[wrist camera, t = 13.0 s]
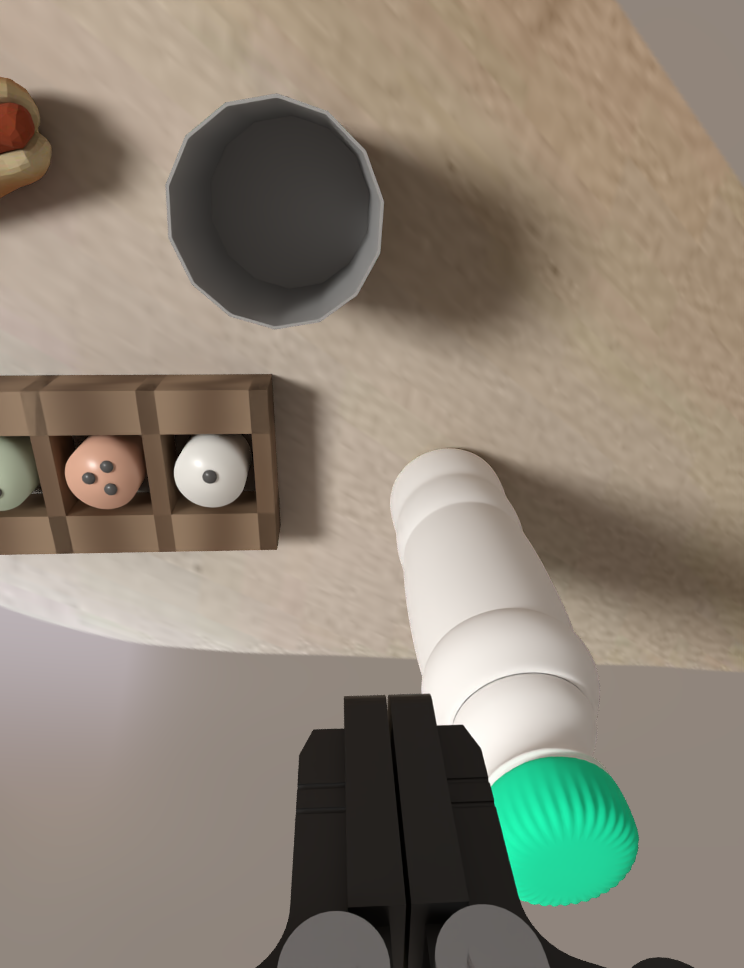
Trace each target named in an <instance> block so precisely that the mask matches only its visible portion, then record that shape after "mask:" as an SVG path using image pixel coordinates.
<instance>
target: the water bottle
mask: <svg viewBox="0 0 744 968" xmlns="http://www.w3.org/2000/svg"><path fill="white" fill-rule="evenodd" d="M390 508H391V515H392V520H393V524H394V528H395V531H396V539H397V549H398V554H399V558H400V562H401V565H402V567H403V569H404V584H405V594H406V602H407V609H408V615H409V621H410V627H411V633H412V638H413V643H414V647H415V652H416V656H417V660H418V664H419V667H420V671H421V674H422V688H421V691H422V694H431V697H432V701H433V707H434V712H435V718H436V723H437V725H464V727H465V728H466V729H467V731H468V732H469V733H470V735H471V736H472V737H473V738H474V740H475V741H476V742H477V744H478V745H479V746H480V748H481V750H482V754H483V758H484V762H485V765H486V769H487V773H488V780H489V783H490V785H491V789H492V793H493V797H494V804H495V807H496V809H497V813H498V817H499V821H500V825H501V829H502V833H503V837H504V841H505V845H506V849H507V853H508V857H509V861H510V864H511V868H512V872H513V876H514V880H515V884H516V888H517V892H518V896H519V899H520V900H522V901H525V902H526V901H528V902H529V903H530V904H534V905H535V904H540V905H542V906H547V905H552V906H558V905H560V904H561V905H564V906H567V905H569V904H570V903H573V904H578V903H579V902H581V901H586V902H587V901H589V900H590V899H591V898H597V897H599V896H600V894H601V893H607V892H608V891H609V890H610V888H613V887H616V886H617V885H618V883H619V881H621V880H623V879H624V878H625V876H626V874H627V873H628V872H629V871H630V870H631V867H632V865H633V863H634V862H635V859H636V854H637V851H638V841H639V837H638V831H637V827H636V824H635V822H634V818H633V816H632V814H631V811H630V809H629V806H628V804H627V802H626V800H625V798H624V796H623V794H622V792H621V791H620V789H619V787H618V786H617V784H616V783H615V781H614V780H613V779H612V777H611V776H610V775H609V773H608V771H607V770H606V768H605V767H604V765H603V764H602V763H601V762H600V761H598V760H597V759H596V758H594V757H593V753H594V750H595V746H596V740H597V724H596V722H597V717H598V709H599V702H600V683H599V677H598V672H597V668H596V665H595V662H594V660H593V658H592V655H591V654H590V652H589V650H588V648H587V647H586V645H585V644H584V642H583V641H582V640H581V638H580V637H579V636H578V635H577V634H576V633H575V632H574V630H573V627H572V624H571V622H570V619H569V617H568V614H567V612H566V610H565V607H564V605H563V603H562V601H561V598H560V596H559V594H558V592H557V590H556V588H555V586H554V584H553V582H552V580H551V578H550V576H549V574H548V572H547V571H546V569H545V567H544V565H543V563H542V561H541V560H540V558H539V556H538V554H537V553H536V551H535V549H534V548H533V546H532V545H531V543H530V541H529V540H528V538H527V537H526V536H525V534H524V533H523V530H522V526H521V523H520V520H519V518H518V516H517V514H516V512H515V510H514V508H513V506H512V505H511V503H510V502H509V500H508V499H507V498H506V494H505V492H504V489H503V487H502V484H501V482H500V480H499V478H498V476H497V475H496V473H495V471H494V470H493V469H492V468H491V466H490V465H489V464H488V463H487V462H486V461H484V460H483V459H482V458H481V457H479V456H477V455H475V454H473V453H471V452H468V451H465V450H462V449H454V448H444V449H437V450H433V451H430V452H427V453H424V454H422V455H420V456H419V457H417V458H415V459H414V460H412V461H411V462H410V463H409V464H407V465H406V467H405V468H404V469H403V470H402V471H401V472H400V474H399V475H398V477H397V479H396V480H395V483H394V485H393V488H392V492H391V498H390Z"/></svg>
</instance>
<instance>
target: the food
mask: <svg viewBox="0 0 744 968" xmlns="http://www.w3.org/2000/svg"><path fill="white" fill-rule="evenodd" d="M39 125H40V115H39V111H38V108H37V106H36V104H35V103H34V101H33V100H32V98H31V97H30V95H29V93H28V92H27V90H26V89H25V88H23V87H22V86H20V85H19V84H17V83H15V82H14V81H13V80H11V79H8V78H3V77H0V198H1V197H3V196H5V195H7V194H8V193H10V192H12V191H14V190H16V189H17V188H19V187H23V186H26V185H29V184H31V183H34V182H36V181H38V180H39V179H40V178H41V177H42V176H43V175H44V174H45V173H46V171H47V169H48V167H49V165H50V159H51V145H50V143H49V142H48V140H47V139H46V138H45V137H44V136H42V135H41V134H40V133H39V131H38V127H39Z"/></svg>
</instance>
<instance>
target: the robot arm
mask: <svg viewBox="0 0 744 968" xmlns="http://www.w3.org/2000/svg"><path fill="white" fill-rule="evenodd" d="M256 968H605V967H602V966H599V965H596V964H593V963H589V962H586V961H583V960H580V959H577V958H575V957H572V956H569V955H568V954H566V953H564V952H562V951H560V950H558V949H557V948H556V947H554V946H553V945H551V944H550V943H549V942H548V941H547V940H546V939H545V938H544V937H542V936H541V935H540V934H539V932H538V931H537V930H536V929H535V928H534V926H533V925H532V924H531V922H530V921H529V919H528V917H527V916H526V914H525V912H524V910H523V908H522V905H521V902H520V899H519V896H518V892H517V888H516V884H515V880H514V876H513V872H512V868H511V864H510V861H509V857H508V853H507V849H506V845H505V841H504V837H503V833H502V829H501V825H500V821H499V817H498V813H497V809H496V807H495V804H494V797H493V793H492V789H491V785H490V783H489V780H488V773H487V769H486V765H485V762H484V758H483V754H482V750H481V748H480V746H479V745H478V744H477V742H476V741H475V740H474V738H473V737H472V736H471V735H470V733H469V732H468V731H467V729H466V728H465V727H464V725H437V723H436V718H435V712H434V707H433V701H432V697H431V694H398V695H388V710H387V703H386V696H385V695H373V696H372V695H370V696H344V729H319V730H318V729H317V730H313V731H312V733H311V735H310V737H309V738H308V740H307V742H306V744H305V746H304V747H303V749H302V751H301V753H300V755H299V769H298V790H297V802H296V819H295V837H294V852H293V870H292V887H291V904H290V914H289V919H288V922H287V926H286V929H285V931H284V934H283V935H282V938H281V939H280V941H279V943H278V944H277V946H276V948H275V949H274V950H273V951H272V952H271V954H270V955H269V956H268V957H267V958H266V959H265V960H264V961H263V962H262V963H261V964H260V965H259V966H257V967H256ZM632 968H694V967H692V966H690V965H688V964H685V963H683V962H681V961H678V960H674V959H670V958H660V957H657V958H649V959H646V960H643V961H640V962H639V963H637V964H636V965H634V966H633V967H632Z"/></svg>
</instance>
